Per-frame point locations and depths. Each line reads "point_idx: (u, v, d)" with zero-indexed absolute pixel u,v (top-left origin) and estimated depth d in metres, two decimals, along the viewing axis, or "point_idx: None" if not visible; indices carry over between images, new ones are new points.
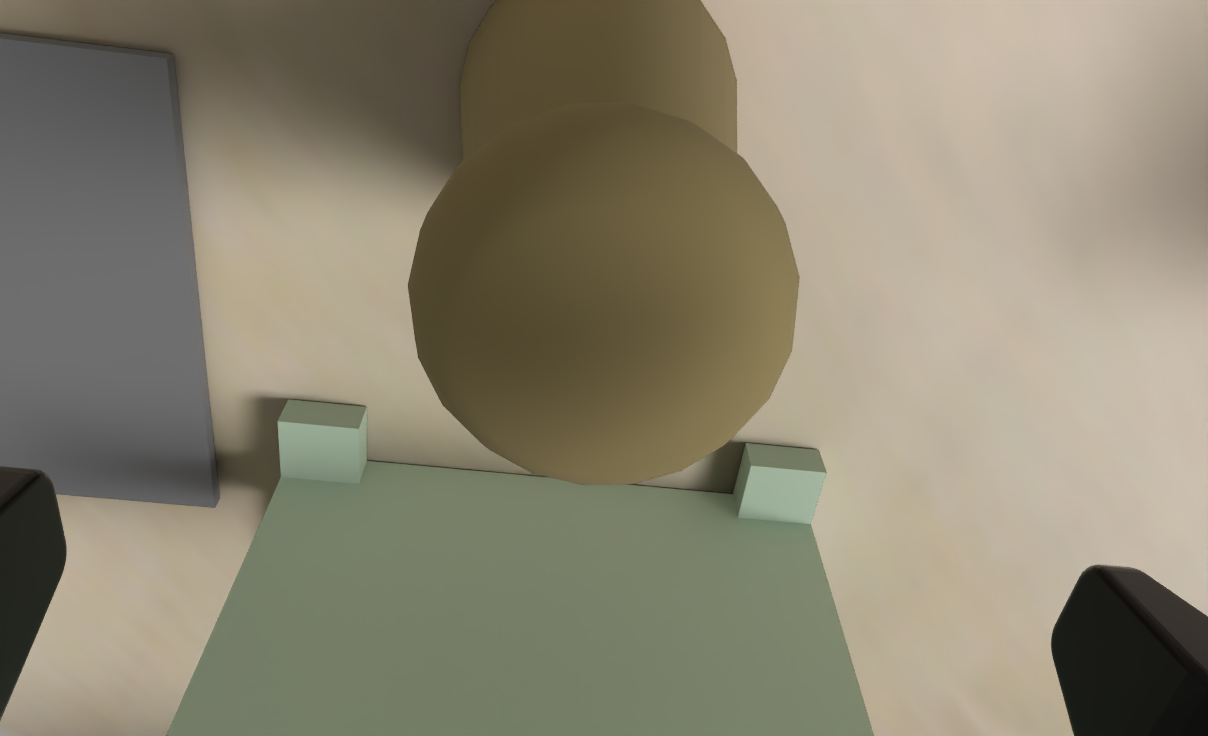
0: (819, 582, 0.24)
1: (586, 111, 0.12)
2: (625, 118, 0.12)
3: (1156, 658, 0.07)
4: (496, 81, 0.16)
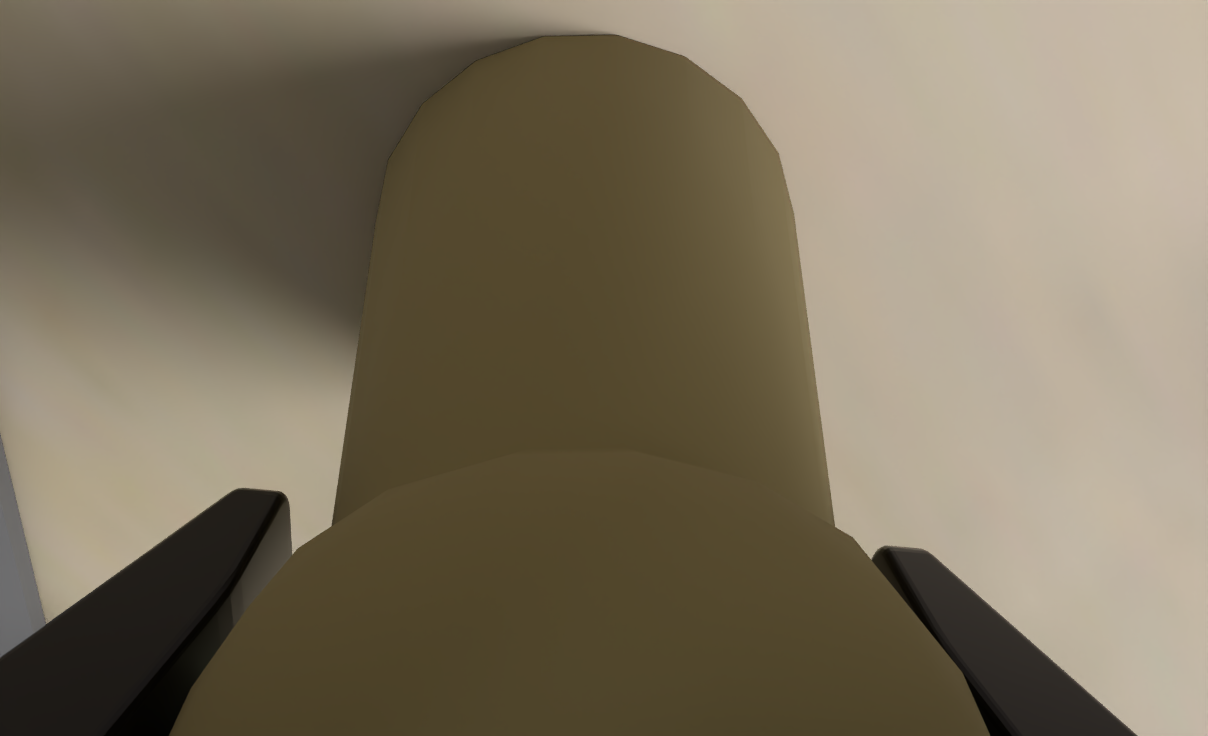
0: None
1: (532, 531, 0.05)
2: (628, 574, 0.05)
3: None
4: (400, 279, 0.09)
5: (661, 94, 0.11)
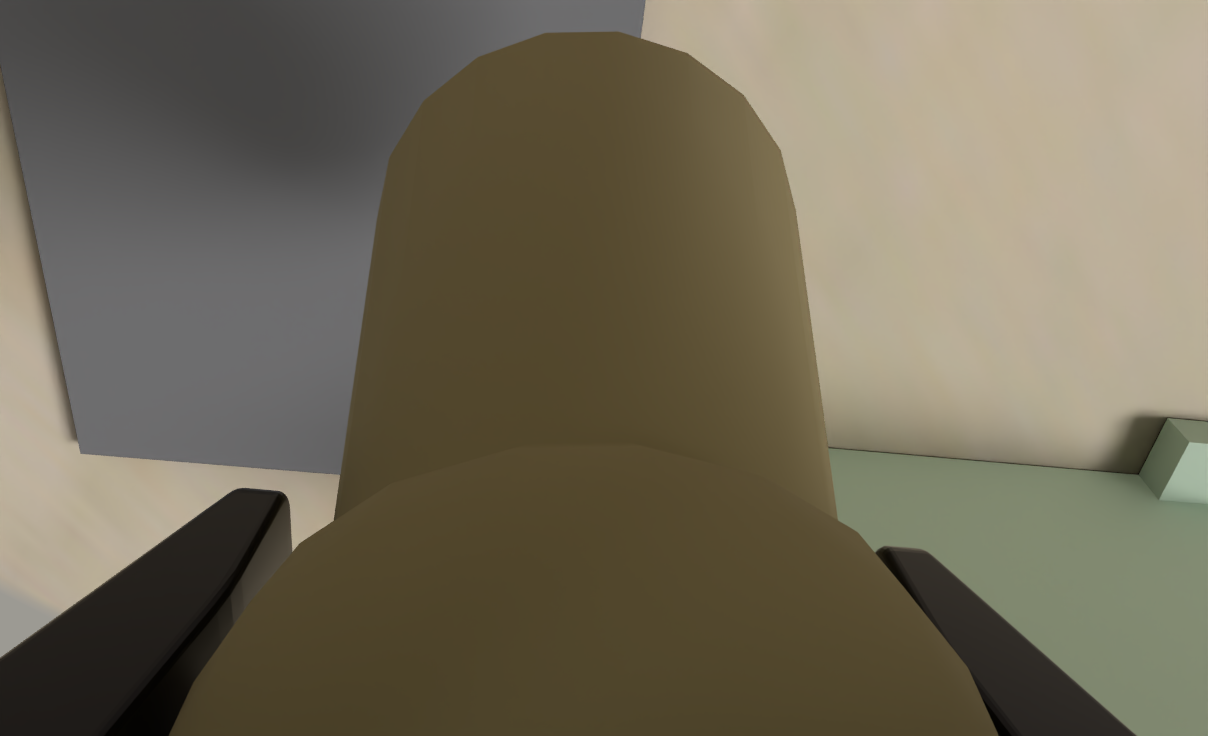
0: None
1: (535, 526, 0.05)
2: (633, 567, 0.05)
3: None
4: (402, 275, 0.09)
5: (663, 90, 0.11)
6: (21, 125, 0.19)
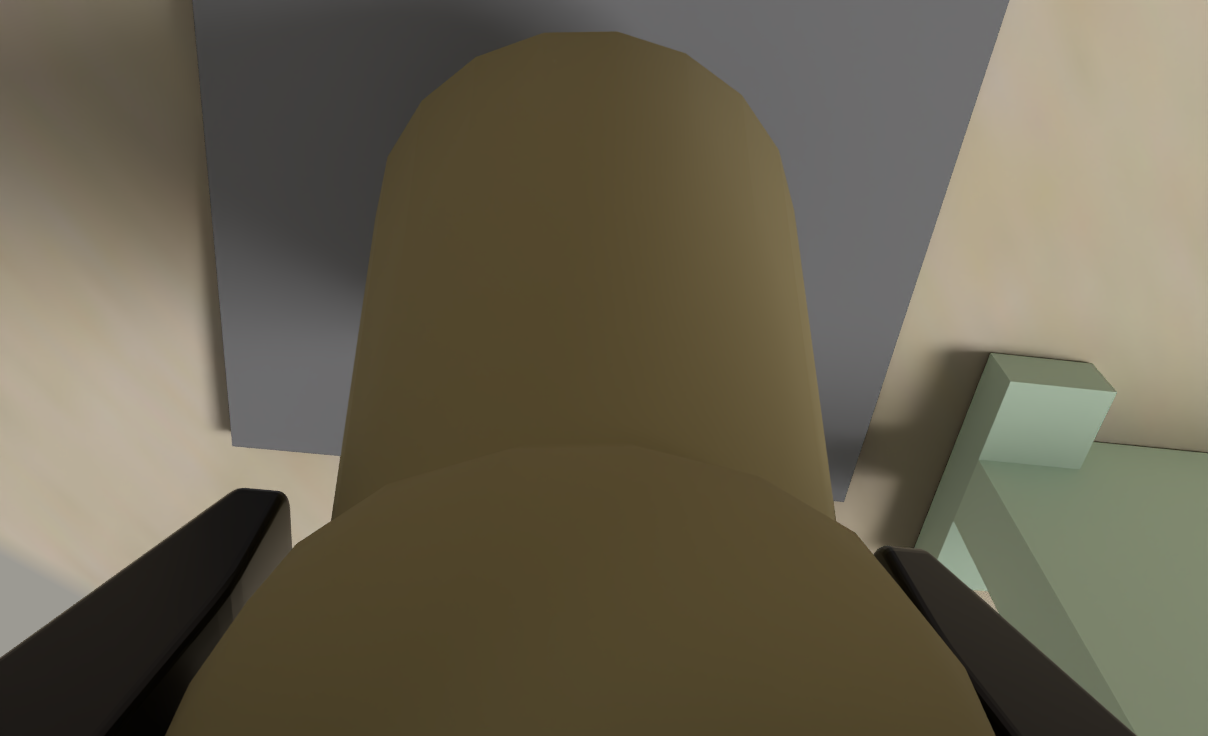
0: None
1: (533, 526, 0.05)
2: (629, 568, 0.05)
3: None
4: (400, 275, 0.09)
5: (661, 90, 0.11)
6: (204, 9, 0.14)
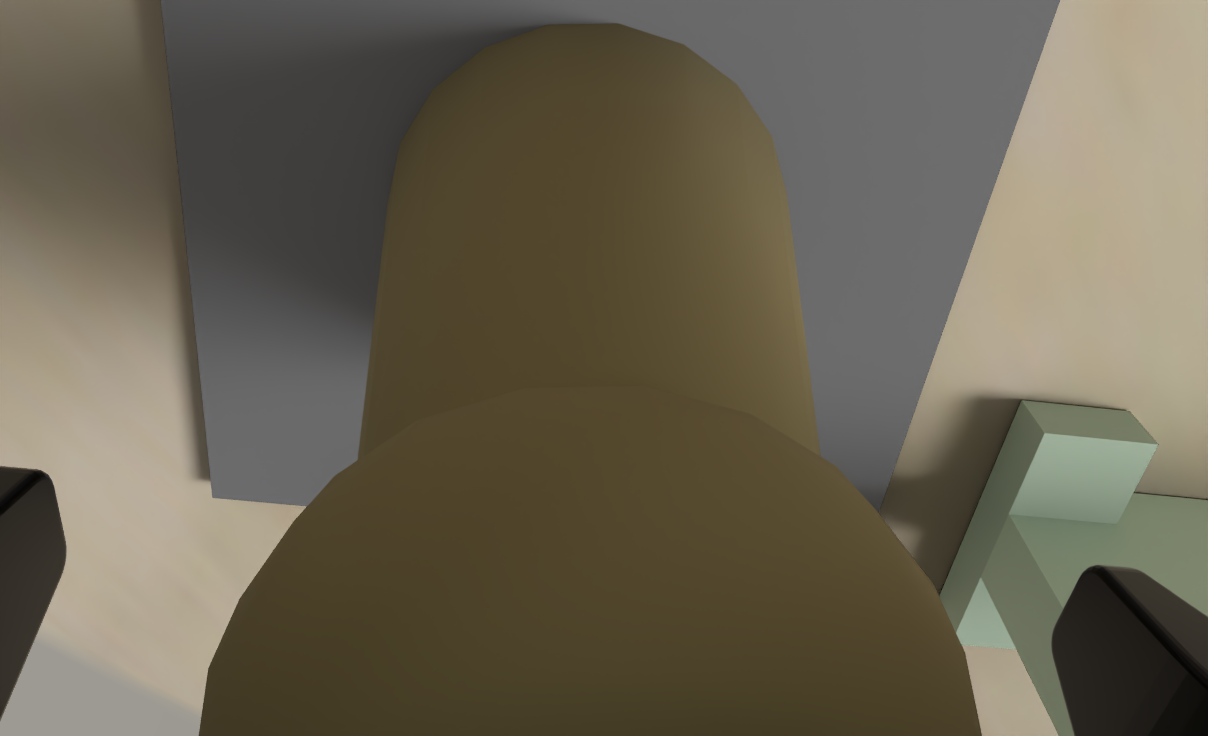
0: None
1: (549, 445, 0.05)
2: (635, 478, 0.05)
3: (1157, 658, 0.07)
4: (417, 248, 0.10)
5: (661, 78, 0.12)
6: (177, 39, 0.13)
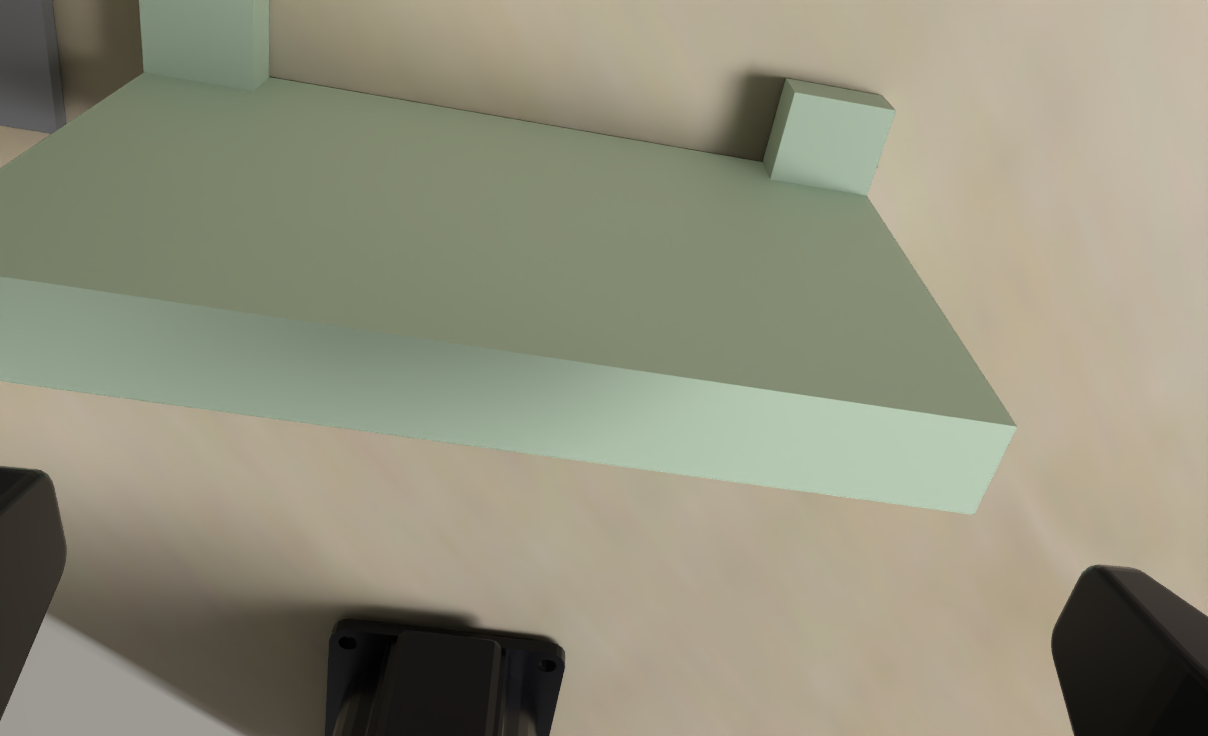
0: (884, 240, 0.17)
1: None
2: None
3: (1156, 658, 0.07)
4: None
5: None
6: None
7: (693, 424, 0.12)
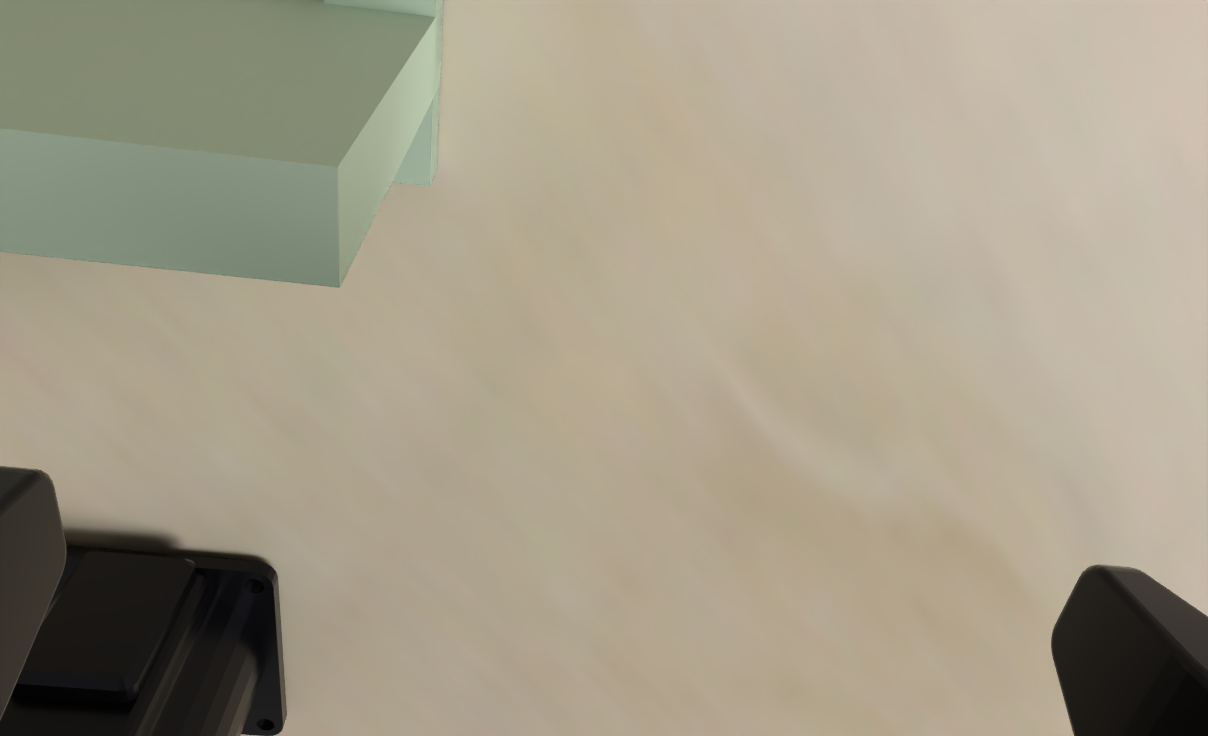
0: (402, 44, 0.16)
1: None
2: None
3: (1156, 658, 0.07)
4: None
5: None
6: None
7: None
